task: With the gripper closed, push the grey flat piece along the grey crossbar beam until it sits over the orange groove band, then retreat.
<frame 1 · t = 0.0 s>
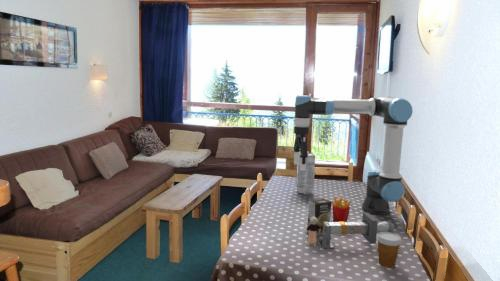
hand: (299, 167, 204), 28 cm above the table, fingers open, 13 cm apart
grandmother figurine: (312, 244, 179), on the table
grey flat piece: (369, 227, 178), point 8 cm above the table, slide at 0.0 cm
grey crossbar beam: (357, 244, 179), on the table
coffee box: (318, 233, 191), on the table
disposable coffee cup: (386, 264, 161), on the table
juice carton: (304, 193, 257), on the table
french fries: (340, 226, 201), on the table
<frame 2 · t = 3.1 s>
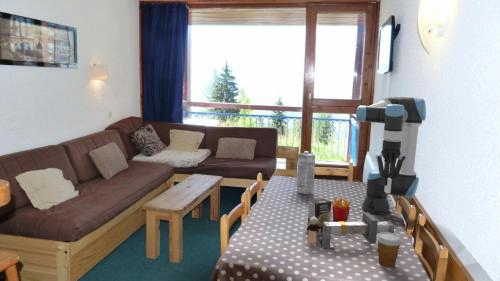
hand: (387, 192, 176), 24 cm above the table, fingers closed
nothing on the table moved.
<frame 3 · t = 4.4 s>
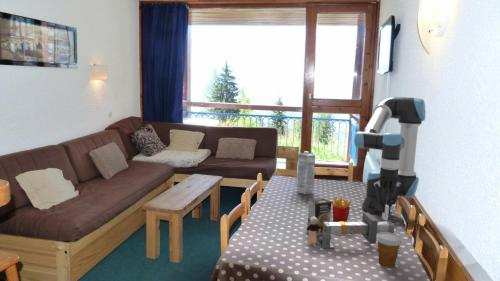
hand: (384, 219, 178), 12 cm above the table, fingers closed
nothing on the table moved.
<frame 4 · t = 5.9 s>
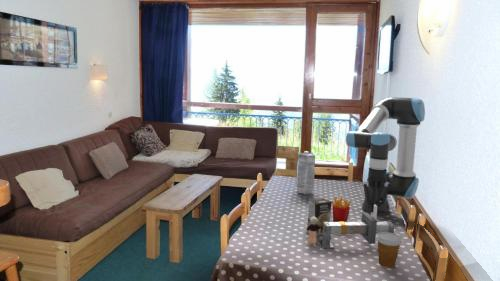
hand: (373, 219, 178), 12 cm above the table, fingers closed
grey flat piece: (368, 227, 178), point 8 cm above the table, slide at 0.4 cm, touching gripper
everything else where it was.
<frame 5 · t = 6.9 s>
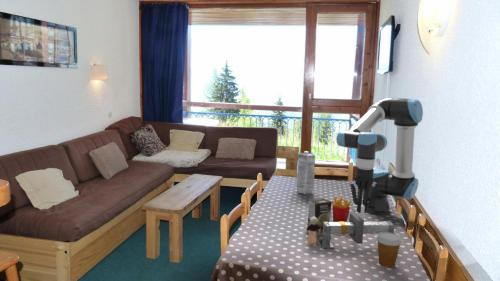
hand: (360, 219, 177), 12 cm above the table, fingers closed
grey flat piece: (355, 227, 177), point 8 cm above the table, slide at 6.3 cm, touching gripper
everything else where it was.
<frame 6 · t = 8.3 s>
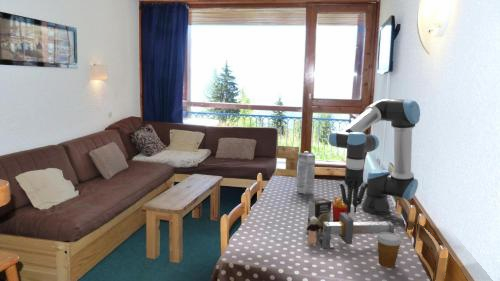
hand: (350, 219, 176), 12 cm above the table, fingers closed
grey flat piece: (345, 228, 177), point 8 cm above the table, slide at 10.9 cm, touching gripper
everything else where it was.
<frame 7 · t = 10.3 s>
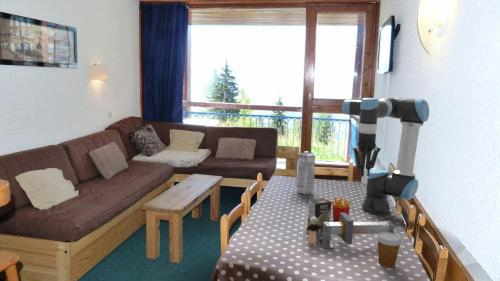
hand: (363, 182, 183), 26 cm above the table, fingers closed
grey flat piece: (345, 228, 177), point 8 cm above the table, slide at 10.9 cm
everything else where it was.
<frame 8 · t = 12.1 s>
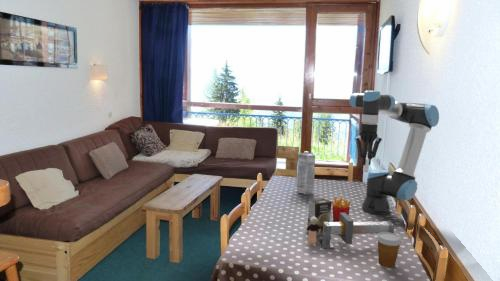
hand: (365, 171, 193), 29 cm above the table, fingers closed
nothing on the table moved.
at the end: grey flat piece slide at 10.9 cm; the gripper is holding nothing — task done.
